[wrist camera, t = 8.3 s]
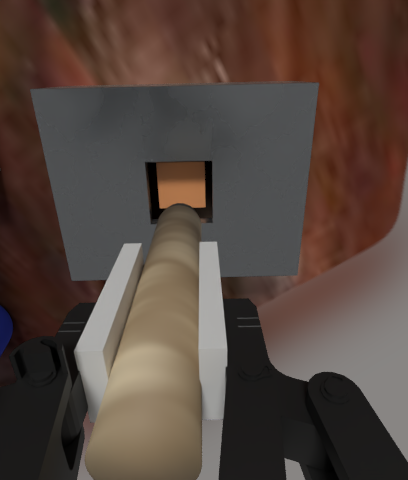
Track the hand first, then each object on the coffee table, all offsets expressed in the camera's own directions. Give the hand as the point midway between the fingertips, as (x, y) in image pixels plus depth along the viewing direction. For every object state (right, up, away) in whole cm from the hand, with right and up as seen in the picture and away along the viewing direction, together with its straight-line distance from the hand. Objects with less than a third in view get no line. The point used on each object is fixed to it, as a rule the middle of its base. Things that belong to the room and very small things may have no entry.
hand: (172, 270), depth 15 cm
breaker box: (0, +8, +15) cm, 17 cm away
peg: (0, +3, +6) cm, 7 cm away
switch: (0, +7, +13) cm, 15 cm away
